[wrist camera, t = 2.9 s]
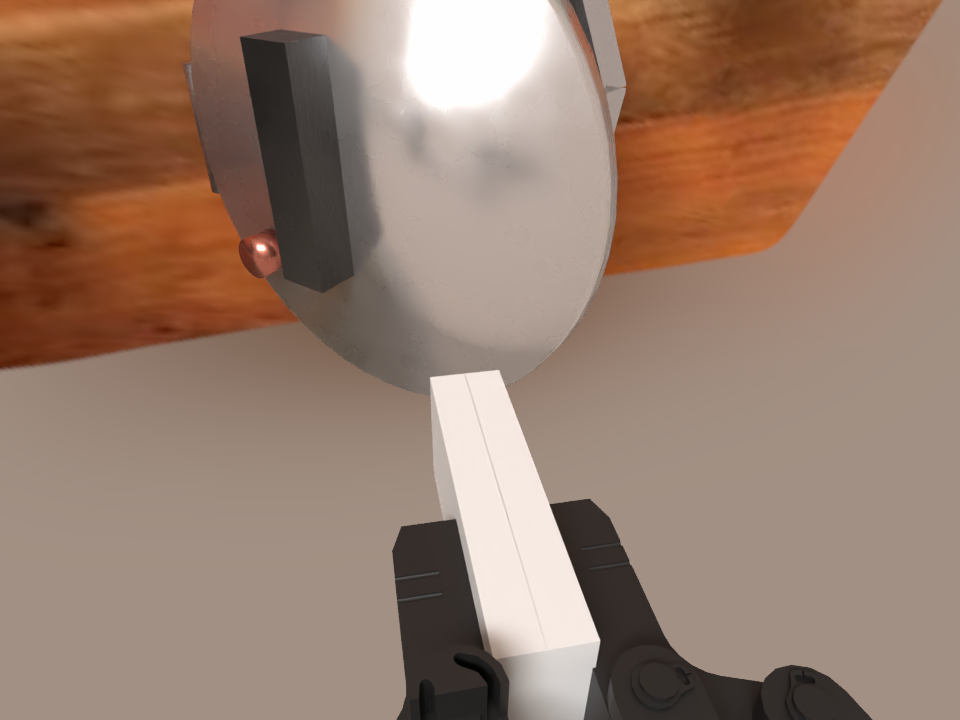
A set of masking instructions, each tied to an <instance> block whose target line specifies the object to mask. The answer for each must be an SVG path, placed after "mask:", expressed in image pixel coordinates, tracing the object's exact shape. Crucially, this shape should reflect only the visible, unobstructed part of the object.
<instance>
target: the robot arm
mask: <svg viewBox="0 0 960 720" xmlns="http://www.w3.org/2000/svg"><path fill="white" fill-rule="evenodd" d="M430 392H431V412H432V413H431V416H432V439H433V462H434V474H435V480H436V485H437V490H438V495H439V500H440V505H441V511H442V516H443V521H438V522H431V523H424V524H417V525H410V526H402V527H401V529H400V532H399V535H398V537H397V540H396V542H395V545H394V548H393V551H392V553H393V563H394V573H395V584H396V594H397V603H398V613H399V622H400V631H401V641H402V650H403V660H404V669H405V678H406V698H405V701H404V705H403V709H402V711H401V713H400V714H399V716H398V718H397V720H872V719H871V718H870V717H869V715H868V714H867V713H866V712H865V711H864V710H863V709H862V708H861V707H860V706H859V705H858V704H857V703H856V701H855V700H854V699H853V698H852V697H851V696H850V695H849V694H848V693H847V692H846V691H845V690H844V689H843V688H842V687H841V686H839V685H838V684H837V683H835V682H834V681H833V680H832V679H831V678H830V677H828V676H826V675H824V674H822V673H820V672H818V671H816V670H814V669H811V668H808V667H802V666H795V665H789V666H785V667H781V668H777V669H775V670H774V671H773V672H772V673H771V674H769V675H768V676H767V677H766V678H765V680H764V682H758V681H751V680H745V679H738V678H731V677H725V676H719V675H715V674H711V673H708V672H705V671H703V670H701V669H698V668H697V667H695V666H693V665H691V664H690V663H688V662H687V661H686V660H684V659H683V658H682V657H680V656H679V655H678V653H677V652H676V651H675V650H674V649H673V648H672V647H671V646H670V644H669V643H668V641H667V639H666V638H665V636H664V634H663V632H662V630H661V628H660V626H659V624H658V621H657V619H656V617H655V615H654V613H653V610H652V608H651V606H650V604H649V602H648V600H647V598H646V595H645V593H644V591H643V589H642V587H641V585H640V582H639V580H638V578H637V576H636V574H635V572H634V569H633V568H632V566H631V565H630V563H629V559H628V557H627V555H626V552H625V550H624V548H623V546H621V543H620V539H619V537H618V535H617V533H616V531H615V528H614V526H613V524H612V522H611V520H610V518H609V517H608V516H607V515H606V514H605V513H604V512H603V511H602V510H601V509H600V508H599V507H598V506H597V505H596V504H594V503H593V502H592V501H591V500H590V499H584V500H577V501H570V502H564V503H556V504H549V503H548V500H547V497H546V494H545V492H544V489H543V487H542V484H541V481H540V479H539V476H538V473H537V470H536V468H535V465H534V462H533V460H532V457H531V454H530V452H529V449H528V446H527V444H526V441H525V438H524V436H523V433H522V430H521V428H520V425H519V423H518V420H517V417H516V414H515V412H514V409H513V406H512V404H511V401H510V398H509V396H508V393H507V390H506V388H505V385H504V382H503V379H502V377H501V374H500V371H499V370H493V371H484V372H474V373H465V374H455V375H446V376H436V377H430Z"/></svg>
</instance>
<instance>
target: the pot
mask: <svg viewBox="0 0 960 720" xmlns="http://www.w3.org/2000/svg"><path fill="white" fill-rule="evenodd" d="M569 2H570V4H571V5H572V7H573V9H574V11H575V13H576V15H577V17H578V20H579V22H580V24H581V26H582V29H583V31H584V33H585V35H586V38H587V40H588V42H589V44H590V47H591V49H592V51H593V54H594V57H595V61H596V64H597V67H598V70H599V73H600V77H601V80H602V83H603V86H604V89H605V93H606V96H607V101H608V106H609V111H610V117H611V122H612V127H613V132H615V129H616V125H617V121H618V117H619V114H620V110H621V106H622V103H623V99H624V95H625V92H626V88H625V87H624V86H626V81H625V77H624V72H623V67H622V63H621V58H620V54H619V49H618V44H617V40H616V35H615V31H614V26H613V22H612V17H611V12H610V8H609V3H608V0H569Z"/></svg>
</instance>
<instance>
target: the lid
mask: <svg viewBox="0 0 960 720" xmlns="http://www.w3.org/2000/svg"><path fill="white" fill-rule="evenodd" d="M190 45H191V60H190V61H185V62H183V63H182V65H183V69H184V73H185V78H186V82H187V86H188V91H189V95H190V99H191V103H192V108H193V112H194V116H195V121H196V125H197V129H198V133H199V138H200V142H201V146H202V151H203V155H204V159H205V164H206V168H207V172H208V176H209V181H210V185H211V189H212V192H214V193H220V195H221V197H222V200H223V202H224V205H225V207H226V209H227V212H228V214H229V216H230V218H231V220H232V222H233V224H234V226H235V228H236V230H237V232H238V234H239V236H240V238H241V242H240V244H239V254H240V257H241V260H242V262H243V264H244V266H245V267H246V269H247V270H248V271H249V272H250V273H251V274H252V275H254V276H255V277H257V278H264V277H265V278H266V280H267V281H268V282H269V284H270V285H271V287H272V288H273V289H274V291H275V292H276V293H277V294H278V296H279V297H280V298H281V299H282V301H283V302H284V303H285V304H286V306H287V307H288V308H289V309H290V310H291V311H292V312H293V313H294V314H295V316H296V317H297V318H298V319H299V320H300V321H301V322H302V323H303V324H304V325H305V326H306V327H307V328H308V329H309V330H310V331H311V332H312V333H313V334H314V335H316V336H317V337H318V338H319V339H320V340H321V341H322V342H323V343H324V344H325V345H327V346H328V347H329V348H331V349H332V350H333V351H334V352H336V353H337V354H338V355H340V356H341V357H342V358H343V359H345V360H346V361H348V362H350V363H351V364H353V365H354V366H356V367H358V368H359V369H361V370H362V371H364V372H365V373H368V374H370V375H371V376H374V377H375V378H378V379H379V380H382V381H384V382H386V383H388V384H391V385H393V386H396V387H399V388H402V389H405V390H407V391H412V392H415V393H420V394H424V395H428V396H431V392H430V377H436V376H446V375H455V374H465V373H474V372H484V371H493V370H499V371H500V374H501V377H502V379H503V382H504V385H505V387H506V386H508V385H510V384H512V383H515V382H517V381H518V380H520V379H521V378H523V377H524V376H525V375H527V374H528V373H530V372H532V371H533V370H535V369H536V368H537V367H538V366H539V365H540V364H541V363H542V362H543V361H544V360H546V359H547V358H548V357H549V356H550V355H551V354H552V353H553V352H554V351H555V350H556V349H557V348H558V347H559V346H560V345H561V344H562V343H563V342H564V341H565V340H566V339H567V338H568V337H569V336H570V335H571V333H572V332H573V331H574V329H575V328H576V327H577V325H578V324H579V322H580V321H581V320H582V318H583V317H584V316H585V314H586V312H587V310H588V308H589V306H590V304H591V302H592V300H593V298H594V296H595V294H596V292H597V290H598V288H599V286H600V282H601V280H602V277H603V274H604V271H605V268H606V265H607V262H608V259H609V255H610V249H611V244H612V238H613V233H614V228H615V222H616V206H617V187H618V177H617V163H616V149H615V138H614V132H613V127H612V122H611V117H610V111H609V106H608V101H607V96H606V93H605V89H604V86H603V83H602V80H601V77H600V73H599V70H598V67H597V64H596V61H595V57H594V54H593V51H592V49H591V47H590V44H589V42H588V40H587V38H586V35H585V33H584V31H583V29H582V26H581V24H580V22H579V20H578V17H577V15H576V13H575V11H574V9H573V7H572V5H571V4H570V2H569V0H194V5H193V11H192V25H191V40H190Z"/></svg>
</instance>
